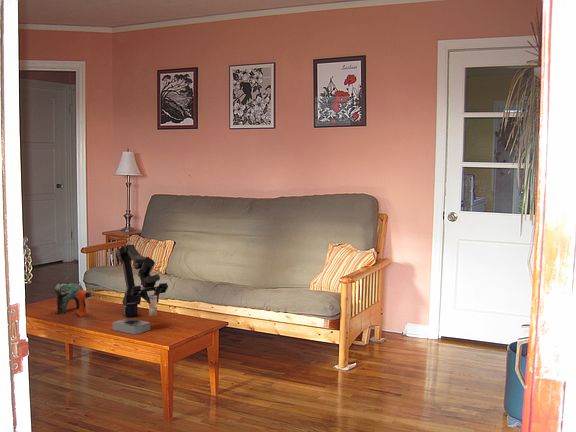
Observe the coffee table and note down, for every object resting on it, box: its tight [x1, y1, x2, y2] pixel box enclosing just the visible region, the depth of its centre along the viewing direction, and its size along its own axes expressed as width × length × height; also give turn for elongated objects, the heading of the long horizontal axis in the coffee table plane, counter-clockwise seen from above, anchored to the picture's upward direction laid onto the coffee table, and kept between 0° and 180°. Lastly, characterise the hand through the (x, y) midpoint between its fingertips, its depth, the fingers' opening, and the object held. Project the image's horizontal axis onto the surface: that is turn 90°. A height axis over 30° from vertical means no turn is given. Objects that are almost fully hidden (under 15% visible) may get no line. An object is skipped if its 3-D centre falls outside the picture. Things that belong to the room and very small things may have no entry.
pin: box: [148, 294, 158, 317], centre depth 313 cm, size 4×4×10 cm
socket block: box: [112, 317, 151, 335], centre depth 309 cm, size 10×16×4 cm, turn 59°
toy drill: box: [76, 289, 96, 318], centre depth 335 cm, size 5×19×15 cm, turn 47°
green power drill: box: [54, 276, 84, 315], centre depth 348 cm, size 20×6×20 cm, turn 155°
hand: (153, 302), depth 311 cm, fingers closed on pin, 4 cm apart
